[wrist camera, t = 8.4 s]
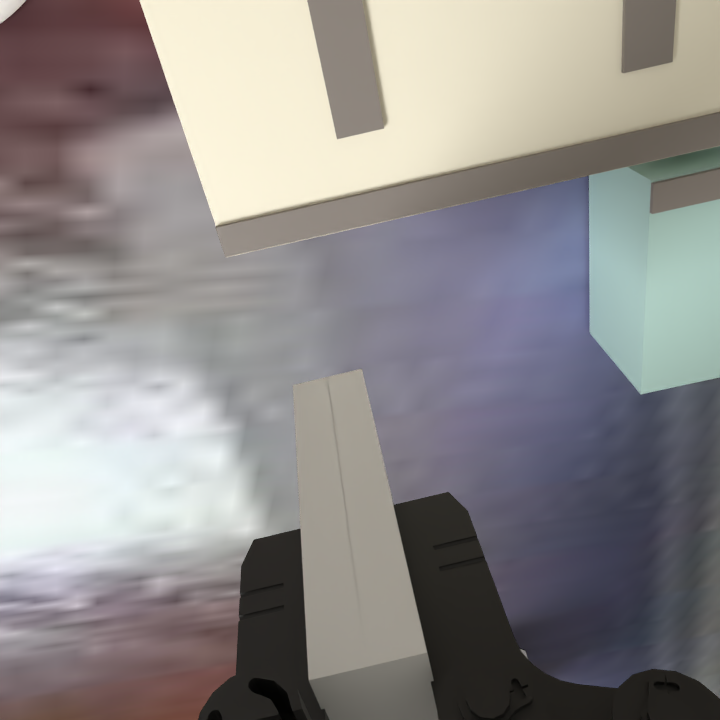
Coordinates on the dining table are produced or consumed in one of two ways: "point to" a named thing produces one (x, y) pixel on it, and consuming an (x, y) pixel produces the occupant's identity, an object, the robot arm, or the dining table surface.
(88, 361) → the dining table surface
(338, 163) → the cream slotted block
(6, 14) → the jar
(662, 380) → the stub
